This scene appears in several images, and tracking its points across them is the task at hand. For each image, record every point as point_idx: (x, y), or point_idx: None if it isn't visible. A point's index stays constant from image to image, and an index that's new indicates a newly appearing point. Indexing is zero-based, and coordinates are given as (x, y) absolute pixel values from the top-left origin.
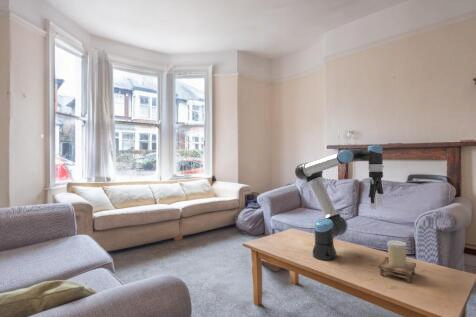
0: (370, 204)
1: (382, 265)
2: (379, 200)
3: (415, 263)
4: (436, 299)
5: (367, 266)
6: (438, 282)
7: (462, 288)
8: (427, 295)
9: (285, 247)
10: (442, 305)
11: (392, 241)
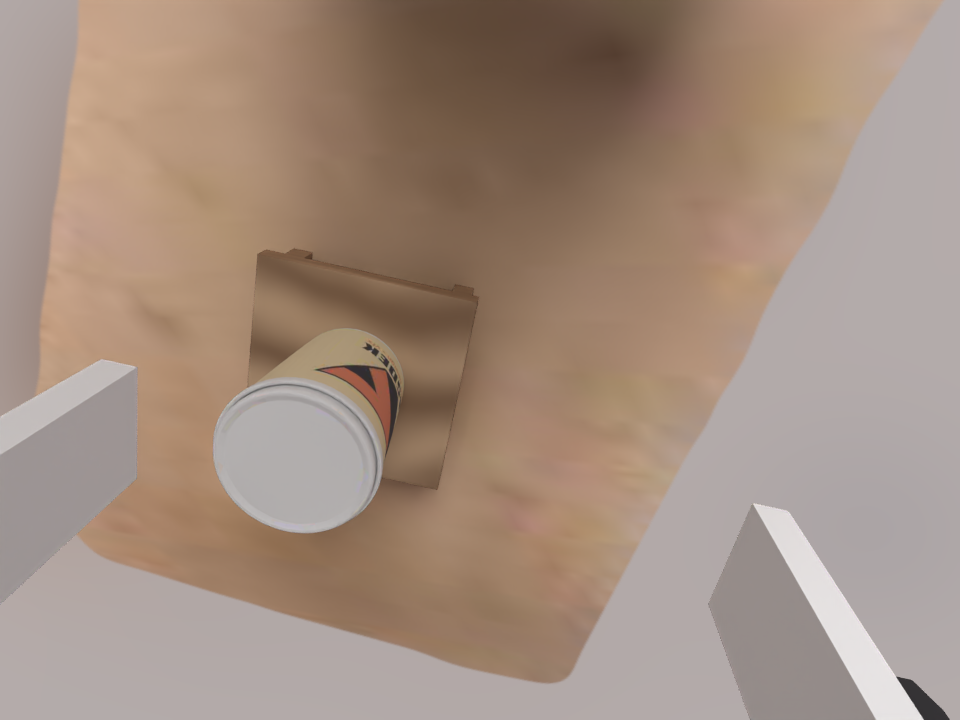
0: (16, 410)
1: (270, 282)
2: (773, 648)
3: (430, 486)
4: (161, 503)
5: (406, 150)
6: (369, 539)
7: (354, 618)
8: (178, 474)
9: None
10: (118, 516)
11: (321, 431)
